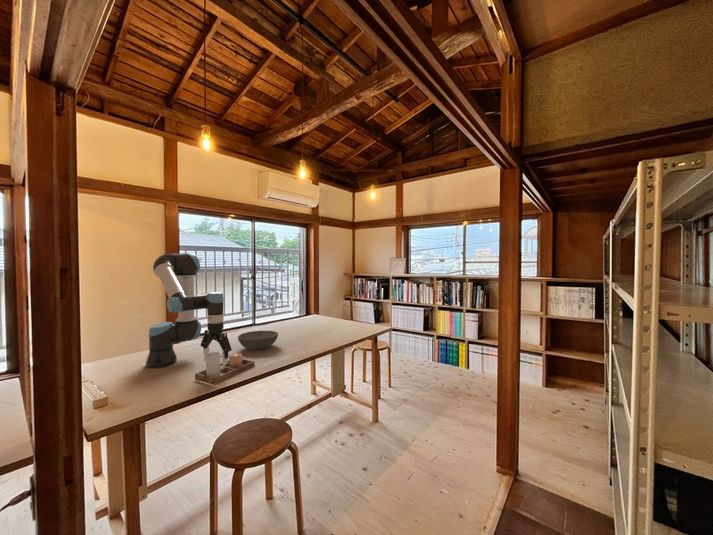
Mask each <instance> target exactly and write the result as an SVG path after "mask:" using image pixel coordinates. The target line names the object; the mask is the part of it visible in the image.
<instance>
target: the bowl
mask: <svg viewBox="0 0 713 535" xmlns="http://www.w3.org/2000/svg"><path fill="white" fill-rule="evenodd" d="M278 337H279V332H277V331H274V330H254V331H247V332H244V333H241V334H239V335H238V336H237V339H238V342H239V344H240V345H241V346H242V347H244V348H246V349H247V350H253V351H257V350H258V351H261V350H264V349H267V348H269V347H271V346H272V345H273V344H274V343H275V342H276V341H277V339H278Z"/></svg>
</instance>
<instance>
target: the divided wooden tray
mask: <svg viewBox="0 0 713 535" xmlns="http://www.w3.org/2000/svg"><path fill="white" fill-rule="evenodd" d="M255 364H256V363H255V361H254V360H251V359H245V358H242V366H241V367H239V368H236V369H235V368H230V367H229V359H228V364H226V365H225V368H224V369H222V370H220V376H218V377H216V378H214V377H210V376H207V374H206V368H205V369H203V370H200V371H198V372H195V373H194V378H195V379H194V380H195V381H198V382H203V383H207V384H210V385H214V386H216V384H218V383H220V382H222V381H224V380H226V379H228V378H231V377H233V376H235V375H237V374H240V373H241V372H244V371H246V370H248V369H250V368H253V367H254V366H255ZM222 366H223V363H222V362H220V367H222Z"/></svg>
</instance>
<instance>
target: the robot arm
mask: <svg viewBox="0 0 713 535" xmlns="http://www.w3.org/2000/svg"><path fill="white" fill-rule="evenodd" d="M152 270H153V273H154V275H155V276H156V277H158V278H159V280H160V282H161V284H162V286H163V288H164V290H165V292H166V295H167V298H168V299H167V300H166V301H167V302H166V307H167V311H168V312H169V313H178V316H177V318H176V319H175V323H173V322H172V321H164V322H160V323H157V324H154V325H151V326H150V327H149V328H148V346H149V348H148V349H149V350H148V351H149V352H148V355H147V358H146V361H145V367H146V368H149V369H156V368H157V369H158V368H164V367H167V366H172V365H173V364H176V363H177V361H178V360H177V358H178V357H177V355H176V352H175V349H174V344H178V343H179V344H180V343H183V342H189V341H190V342H191V341H194V340H197V339H198V338H199V337H200V335H201V332H202V324H201V323H202V322H201V321H200V320H198V317H197V316H196V315H195V310H196V311H197V310H202V309H203V310H204V309H206V310H207V312H206V313H207V329H205V330H204V333H203V334H204V335H203V336H202V340H201V342H200V345H199V346H200V347H202V348H203V361H204V362H206V354H208V353H211V352H210V349H211V348H210V345H211V343H212V342H213V341H215V342H217V343H218V344H219V346H220V348H221V350H222V353H221V355H222V357H221V359H222V361H221V363H223V365H226V364H228V360H229V353H230V352H232V350H233V349H232V346H231V343H230V341H229V337H228V332H223V329H224V327H225V326H224V318H225V317H224V293H222V292H220V291H212V292H208V293H202V294H196V295H195V285H194V284H195V277H197V273H199V272H200V270H201V263H200V259H199V258H198V256H197V255H196V254H195V253H164V254H161V255H160V256H159V257H157V258H156V259H155V261H154V262H153V265H152Z"/></svg>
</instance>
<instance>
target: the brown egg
mask: <svg viewBox="0 0 713 535" xmlns="http://www.w3.org/2000/svg"><path fill="white" fill-rule="evenodd" d="M242 359H243V353H240V352H236V353H231V354H228V360H229V367H230V368H235V369H236V368H239V367H241V366H242Z"/></svg>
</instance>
